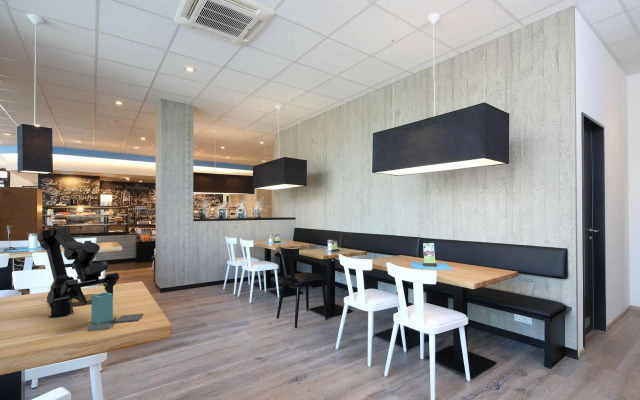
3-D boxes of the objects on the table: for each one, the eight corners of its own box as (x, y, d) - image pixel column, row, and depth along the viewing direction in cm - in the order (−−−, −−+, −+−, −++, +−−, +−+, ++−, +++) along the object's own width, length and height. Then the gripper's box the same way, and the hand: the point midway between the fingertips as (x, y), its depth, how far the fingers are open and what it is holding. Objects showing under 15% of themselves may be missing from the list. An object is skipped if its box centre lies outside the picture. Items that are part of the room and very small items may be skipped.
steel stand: (87, 330, 117) (87, 317, 117) (95, 324, 123) (95, 311, 124) (109, 328, 119) (109, 315, 119) (115, 322, 125) (115, 309, 125)
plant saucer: (57, 308, 148) (57, 303, 148) (71, 300, 162) (72, 295, 162) (93, 305, 152) (93, 300, 152) (105, 297, 166) (105, 292, 166)
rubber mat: (115, 323, 124) (115, 321, 124) (121, 317, 132) (121, 315, 132) (137, 320, 126) (137, 319, 126) (143, 314, 134) (143, 313, 134)
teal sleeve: (91, 322, 120) (91, 295, 121) (105, 318, 124) (105, 292, 125) (98, 324, 118) (98, 296, 118) (112, 320, 122) (112, 293, 122)
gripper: (64, 259, 118) (78, 292, 112) (117, 253, 134) (132, 281, 128) (54, 279, 121) (68, 312, 115) (107, 270, 137) (121, 299, 131)
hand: (99, 300), depth 122 cm, fingers open, 9 cm apart
